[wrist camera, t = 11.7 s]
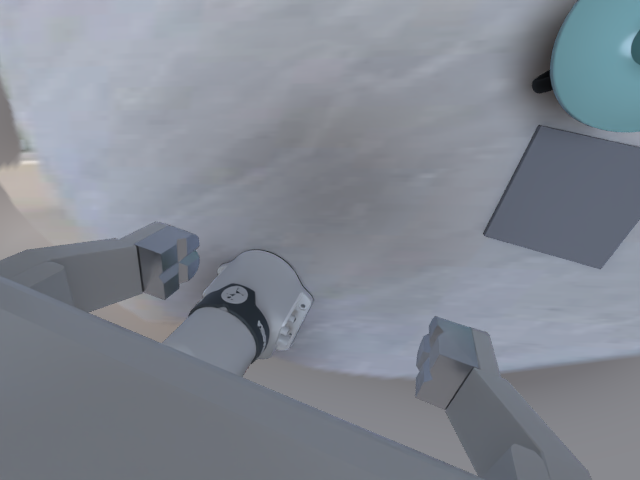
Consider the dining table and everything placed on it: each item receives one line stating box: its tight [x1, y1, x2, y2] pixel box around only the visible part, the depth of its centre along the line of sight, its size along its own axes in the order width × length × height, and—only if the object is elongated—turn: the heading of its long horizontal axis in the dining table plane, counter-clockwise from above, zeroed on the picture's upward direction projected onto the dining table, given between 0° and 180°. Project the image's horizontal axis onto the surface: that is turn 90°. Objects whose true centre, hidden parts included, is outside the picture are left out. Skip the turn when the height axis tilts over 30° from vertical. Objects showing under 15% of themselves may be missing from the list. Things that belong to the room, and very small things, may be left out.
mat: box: [483, 125, 640, 269], centre depth 36 cm, size 14×14×1 cm
